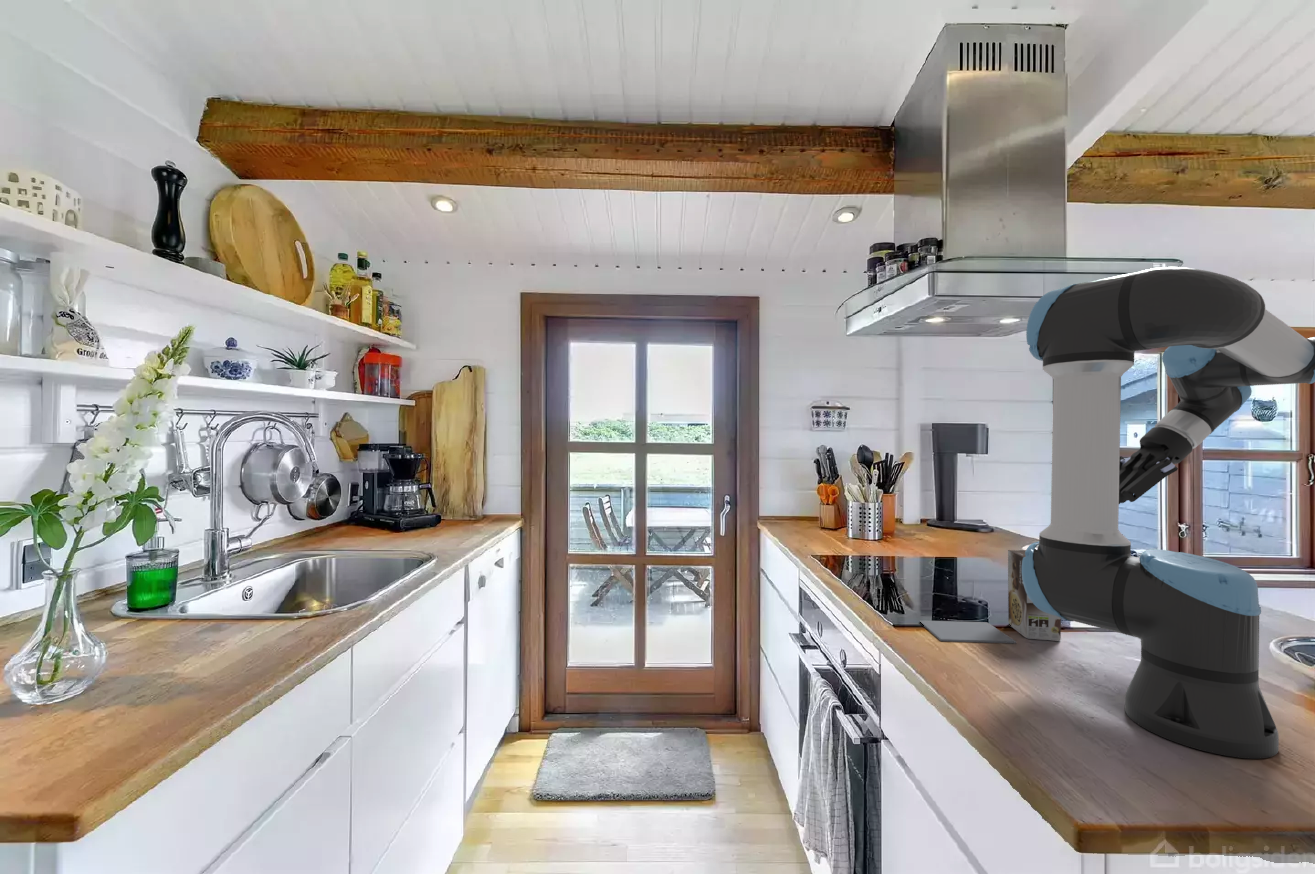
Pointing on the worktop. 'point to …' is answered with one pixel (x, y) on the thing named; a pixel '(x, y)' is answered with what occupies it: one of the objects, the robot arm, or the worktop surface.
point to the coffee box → (1027, 606)
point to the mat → (966, 632)
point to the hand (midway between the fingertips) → (1084, 520)
